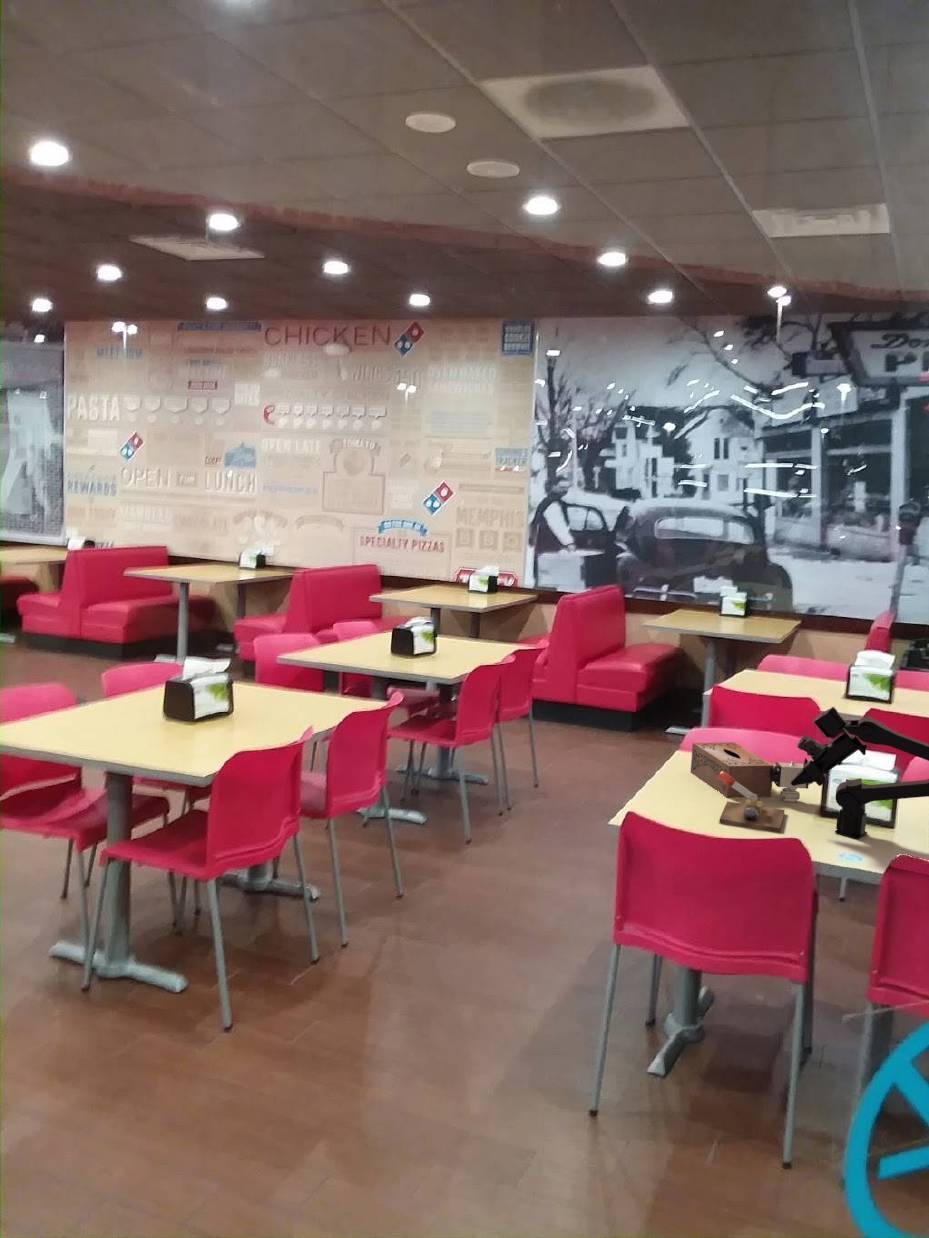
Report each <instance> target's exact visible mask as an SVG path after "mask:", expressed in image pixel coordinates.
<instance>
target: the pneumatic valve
mask: <svg viewBox="0 0 929 1238" xmlns="http://www.w3.org/2000/svg"><path fill="white" fill-rule="evenodd" d="M773 765H774V764H773ZM803 765H804V763H799V762H798V763H796V762H795V761H790V762H779V761H778V762H777V761H775V765H774V767H771V769H770V780H771V781H772V783H774V785H776V787H777V788H782V789H781V790H780V792H779V797H780V799H782V800H783V801H784V803H797V802H798V800H800V798H801V795H800V794H801V793H800V791H797V789H806V790H807V789H809V786H810V785H812V784H814V782H811V783H805V784H800V785H795V786H792V784H791V781H792V780H793V779H794V778H795V777H796V775H797V774H798V773H799V772H800V771H801V770H802V768H803Z"/></svg>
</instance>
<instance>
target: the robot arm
mask: <svg viewBox="0 0 929 1238" xmlns="http://www.w3.org/2000/svg"><path fill="white" fill-rule="evenodd" d="M812 723H813V724H814V725H815V727H816V728H817V729H819V731H820V732H821V733H822V734H823V735H824V736H825V738H827V739H828V738H830V739H833V740H832V741H831V742H826V743H824V744H821V743H820V742H818V741H817V740H815V739H813V738H812V737H810V736H808V735H807V734H803V735H802V737H801V738H800V740H799V741H798V743H797V746H796V747H797V748H798V749H799V750H800V751H804V752H806V755H807V756H808V757H809V756H810V758H809V759H807V758H806V757H805V758H804V761H803V764H804V765H803V768H802V770H801V771H800V772H799V773H798V774H797V775H796V777H795V778H794V779H793V780H792V781H791V784H792V786H795V785H800V784H805V783H811V782H813V783H816V784H817V786H818V787H821V786H822V785H824V784H826V780H827V775H828V774H829V773H830V771H831V770H832V769H834V768H835V767H836V766H840V765H842V764H843V761H845V760H846V759H848V758H849V757H850V756H852V755H853V754H855V753H856V752H857V751H859V752H860V753H861V754H862V755H863V756H865V755H866V754H867V753H866V751H867V748H868V744H873V745H878V746H879V745H880V746H888V747H891V748H893V749H896V750H899V751H902V752H904V753H907V754H910V755H912V756H915V757H918V758H921V759H923V760H925V761H928V762H929V743H927V742H924V741H922V740H919V739H916V738H913V737H911V736H908V735H906V734H903V733H900V732H898V731H895V730H893V729H891V728H890V727H888V726H887V725H885V724H884V723H882V722H880V721H879V720H877V719H875V718H874V717H872V716H863V717H861V718H860V719H846V720H845V719H844V717H842V715H841V714H840V713H839V712H838V709H836V708H835V707H834V706H832V707H830V708H829V709H827V710H825V711H822V712H821V713H820V714H818V715H817V716H816V717H815V718H814V719H813V720H812ZM834 738H835V739H834ZM862 781H863V779H862V778H860V777H859V778H856V779H855V778H854V779H847V778H846V779H845V781H842V782H841V783H839V784H838V785H837V787H836V789H835V801H836V803H837V805H838V806H839V807H840V809H839V813H838V814H837V816H836V824H835V825H836V826H835V828H836V830H834V833H835V834H839V835H842V836H845V837H849V838H853V839H857V840H859V839H861V838H863V837H865V836H866V835H868V832H867V831H866V825H867V816H868V813H867V812H866V805H867V804H869V803H871V802H879V801H880V802H881V801H890V800H892V801H893V800H903V799H914V798H915V799H916V798H926V797H928V798H929V778H927V779H923V780H922V779H921V780H911V781H900V782H887V783H877V784H875V783H874V784H867V783H863V782H862Z"/></svg>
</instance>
